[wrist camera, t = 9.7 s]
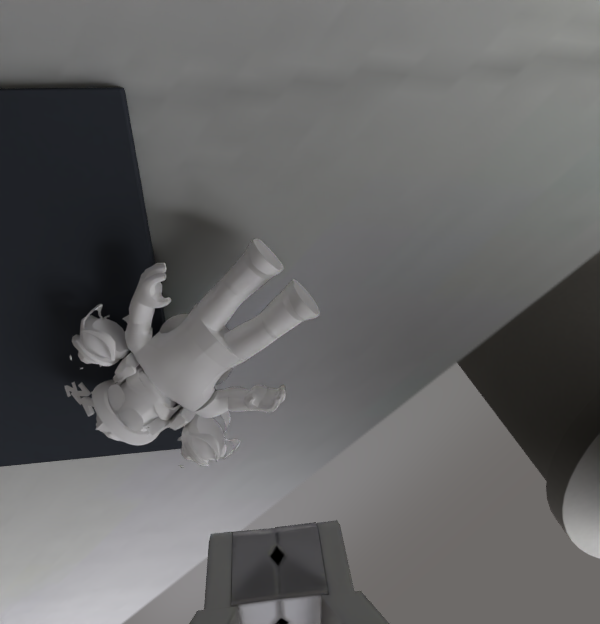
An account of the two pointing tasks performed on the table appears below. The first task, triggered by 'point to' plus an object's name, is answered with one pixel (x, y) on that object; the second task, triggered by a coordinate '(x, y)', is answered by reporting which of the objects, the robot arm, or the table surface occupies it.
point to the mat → (65, 264)
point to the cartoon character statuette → (187, 358)
